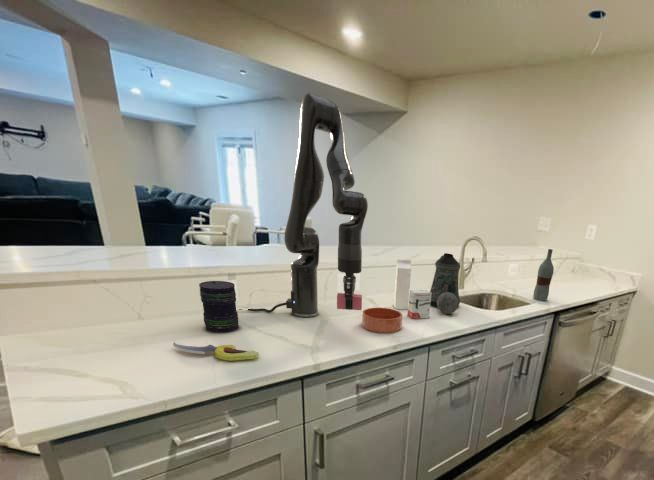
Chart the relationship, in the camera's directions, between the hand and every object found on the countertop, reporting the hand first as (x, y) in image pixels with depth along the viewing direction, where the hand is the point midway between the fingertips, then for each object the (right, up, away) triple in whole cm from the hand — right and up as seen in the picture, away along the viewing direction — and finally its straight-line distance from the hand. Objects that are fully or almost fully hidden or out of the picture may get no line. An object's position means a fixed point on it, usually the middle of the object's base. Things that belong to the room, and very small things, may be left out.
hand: (349, 307), depth 132 cm
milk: (+10, +6, +48) cm, 49 cm away
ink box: (+19, +1, +38) cm, 42 cm away
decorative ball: (+31, +4, +48) cm, 58 cm away
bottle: (+86, +19, +103) cm, 136 cm away
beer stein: (+28, +10, +62) cm, 69 cm away
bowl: (+7, -5, +20) cm, 21 cm away
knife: (-33, -17, -21) cm, 43 cm away
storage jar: (-42, -8, -3) cm, 43 cm away
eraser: (0, 0, 0) cm, 0 cm away
